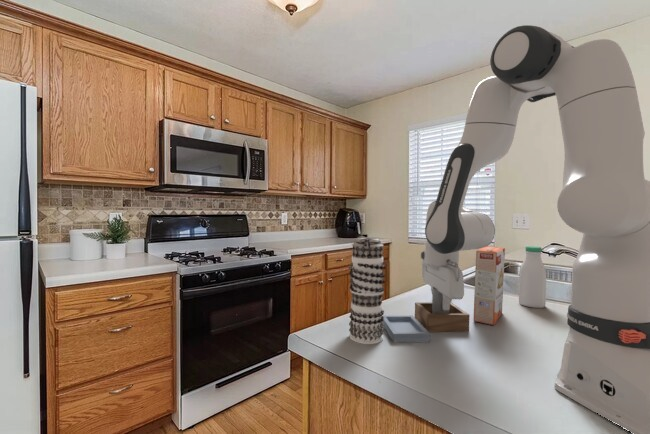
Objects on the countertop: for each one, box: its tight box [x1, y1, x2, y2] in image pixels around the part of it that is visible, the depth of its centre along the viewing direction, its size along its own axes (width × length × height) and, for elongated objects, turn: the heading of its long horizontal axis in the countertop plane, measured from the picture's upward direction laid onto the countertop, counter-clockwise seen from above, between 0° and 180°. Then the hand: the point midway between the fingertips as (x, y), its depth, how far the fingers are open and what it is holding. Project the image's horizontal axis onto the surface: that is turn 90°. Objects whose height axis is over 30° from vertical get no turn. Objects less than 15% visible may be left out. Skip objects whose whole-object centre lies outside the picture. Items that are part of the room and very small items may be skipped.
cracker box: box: [473, 245, 506, 326], centre depth 96 cm, size 14×6×21 cm, turn 143°
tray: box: [382, 314, 431, 343], centre depth 85 cm, size 13×9×2 cm
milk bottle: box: [518, 245, 547, 309], centre depth 109 cm, size 8×8×20 cm
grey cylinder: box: [431, 287, 449, 314], centre depth 90 cm, size 4×4×10 cm
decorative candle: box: [348, 237, 387, 345], centre depth 80 cm, size 9×9×25 cm
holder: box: [414, 301, 470, 333], centre depth 90 cm, size 11×11×4 cm
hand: (440, 306), depth 90 cm, fingers closed on grey cylinder, 4 cm apart
